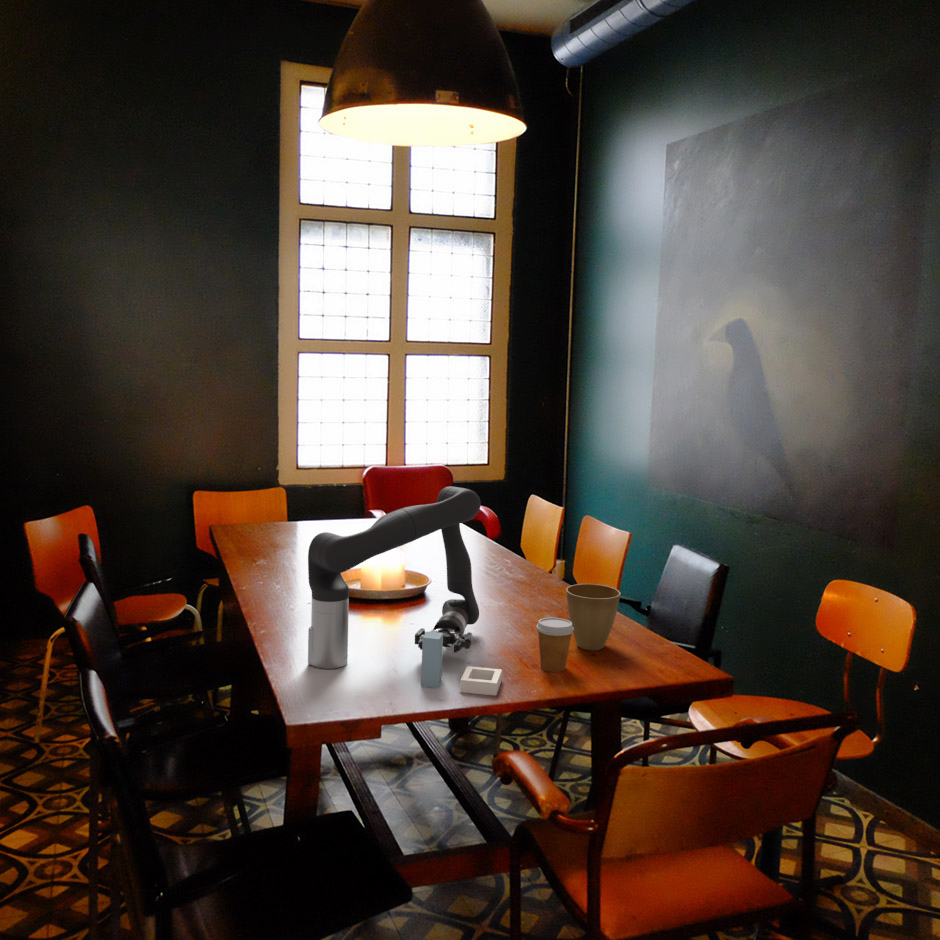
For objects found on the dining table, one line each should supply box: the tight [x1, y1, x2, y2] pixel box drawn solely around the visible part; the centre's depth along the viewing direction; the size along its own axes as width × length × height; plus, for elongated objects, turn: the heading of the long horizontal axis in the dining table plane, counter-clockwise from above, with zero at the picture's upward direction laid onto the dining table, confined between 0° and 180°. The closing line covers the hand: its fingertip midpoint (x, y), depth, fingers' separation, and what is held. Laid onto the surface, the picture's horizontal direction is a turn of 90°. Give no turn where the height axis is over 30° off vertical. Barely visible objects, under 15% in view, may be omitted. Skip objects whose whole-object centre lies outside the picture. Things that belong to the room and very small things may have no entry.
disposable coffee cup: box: [536, 617, 574, 673], centre depth 224 cm, size 10×10×12 cm
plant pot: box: [565, 583, 621, 651], centre depth 242 cm, size 15×15×16 cm
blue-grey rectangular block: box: [420, 631, 444, 689], centre depth 210 cm, size 4×5×12 cm
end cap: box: [459, 665, 503, 696], centre depth 209 cm, size 9×10×3 cm
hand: (438, 647), depth 217 cm, fingers open, 8 cm apart
